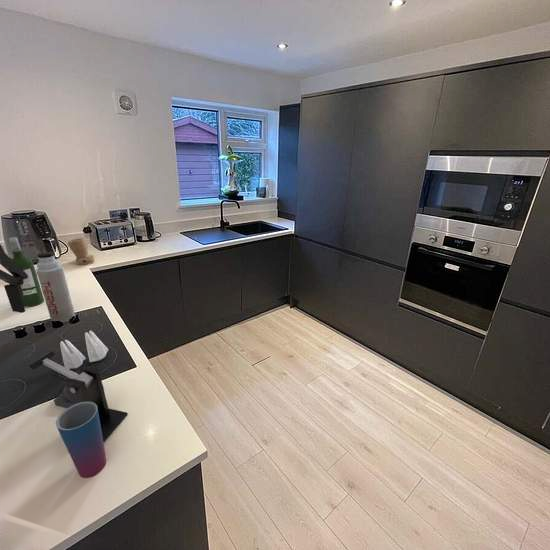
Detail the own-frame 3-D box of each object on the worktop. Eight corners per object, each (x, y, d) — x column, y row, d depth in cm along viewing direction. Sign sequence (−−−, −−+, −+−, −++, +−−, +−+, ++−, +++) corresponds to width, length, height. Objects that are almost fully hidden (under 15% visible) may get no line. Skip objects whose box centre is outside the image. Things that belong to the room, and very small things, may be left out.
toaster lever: (29, 369, 65) (29, 361, 64) (49, 355, 69) (50, 348, 68) (79, 395, 64) (80, 388, 63) (97, 380, 69) (98, 373, 68)
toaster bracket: (61, 437, 68) (43, 384, 62) (91, 407, 76) (78, 358, 70) (101, 447, 66) (86, 393, 60) (128, 415, 74) (117, 366, 68)
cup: (85, 453, 64) (69, 401, 59) (116, 451, 65) (103, 400, 59) (66, 484, 58) (47, 430, 53) (101, 483, 59) (86, 429, 53)
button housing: (55, 406, 76) (51, 394, 75) (80, 385, 84) (77, 374, 82) (80, 412, 75) (77, 400, 73) (104, 390, 82) (101, 379, 80)
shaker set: (109, 353, 97) (102, 325, 93) (109, 360, 94) (102, 331, 90) (66, 364, 92) (57, 334, 88) (65, 372, 88) (56, 341, 84)
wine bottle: (21, 308, 124) (-2, 241, 113) (23, 301, 130) (1, 237, 119) (43, 304, 128) (24, 239, 117) (45, 297, 134) (26, 235, 123)
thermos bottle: (61, 325, 112) (42, 258, 102) (46, 322, 115) (26, 255, 104) (80, 316, 120) (63, 252, 109) (66, 313, 122) (48, 249, 111)
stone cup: (73, 259, 185) (67, 237, 179) (94, 257, 190) (90, 235, 185) (71, 267, 172) (65, 242, 167) (94, 264, 178) (89, 240, 172)
